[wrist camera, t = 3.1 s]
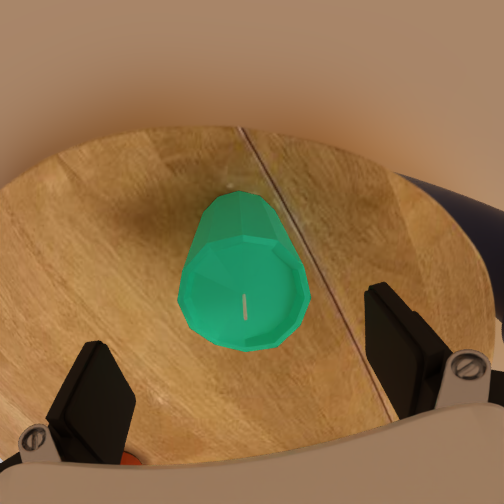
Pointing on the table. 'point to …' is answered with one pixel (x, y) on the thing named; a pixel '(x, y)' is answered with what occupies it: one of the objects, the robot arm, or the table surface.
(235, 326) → the candle
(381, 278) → the table surface
